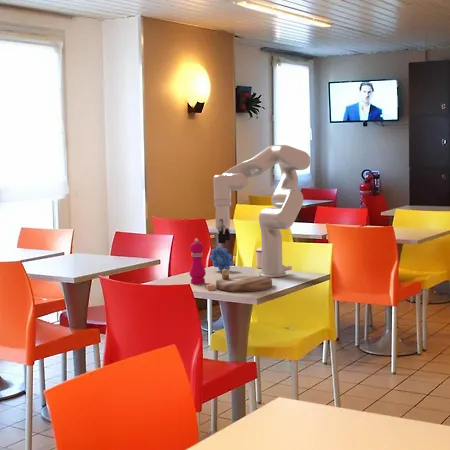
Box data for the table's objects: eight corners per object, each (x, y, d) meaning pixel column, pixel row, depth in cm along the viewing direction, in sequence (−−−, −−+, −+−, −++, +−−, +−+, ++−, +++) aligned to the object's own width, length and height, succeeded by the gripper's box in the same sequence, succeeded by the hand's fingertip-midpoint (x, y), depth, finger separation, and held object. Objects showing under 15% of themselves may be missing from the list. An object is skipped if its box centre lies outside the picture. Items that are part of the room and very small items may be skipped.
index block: (213, 289, 339) (212, 284, 339) (214, 290, 337) (214, 285, 337) (206, 289, 338) (206, 285, 338) (207, 290, 336) (207, 285, 336)
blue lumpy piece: (207, 272, 386) (207, 247, 385) (211, 270, 392) (210, 245, 391) (231, 272, 383) (230, 247, 382) (234, 270, 389) (233, 245, 388)
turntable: (282, 284, 344) (282, 269, 344) (252, 293, 325) (252, 277, 324) (236, 280, 358) (235, 265, 357) (205, 288, 338) (204, 273, 338)
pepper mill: (203, 284, 352) (202, 239, 350) (188, 284, 353) (186, 239, 351) (207, 281, 359) (206, 237, 357) (192, 281, 360) (190, 237, 358)
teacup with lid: (273, 268, 390) (273, 245, 389) (255, 269, 392) (254, 245, 391) (275, 265, 402) (275, 242, 401) (257, 265, 403) (257, 242, 402)
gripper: (218, 201, 358) (219, 239, 360) (210, 204, 341) (211, 244, 343) (234, 201, 356) (236, 239, 358) (227, 204, 339) (228, 244, 341)
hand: (224, 241), depth 350 cm, fingers open, 9 cm apart
